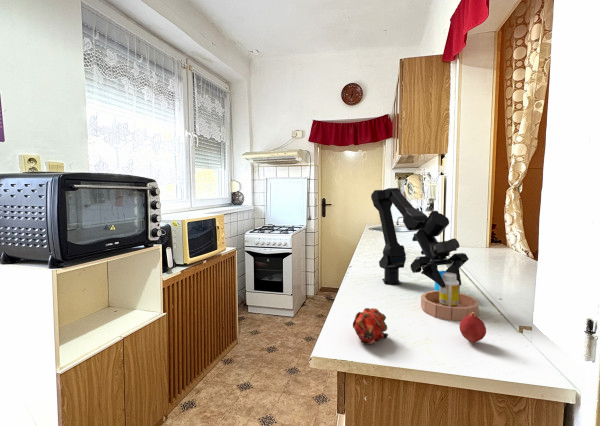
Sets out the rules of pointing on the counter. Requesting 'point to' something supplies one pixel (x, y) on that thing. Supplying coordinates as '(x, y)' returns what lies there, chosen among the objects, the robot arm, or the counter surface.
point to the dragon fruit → (370, 325)
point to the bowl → (445, 312)
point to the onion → (472, 328)
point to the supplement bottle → (449, 291)
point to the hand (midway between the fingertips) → (452, 286)
